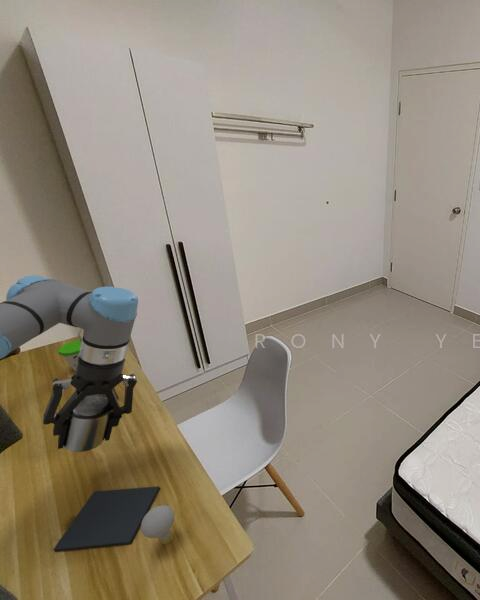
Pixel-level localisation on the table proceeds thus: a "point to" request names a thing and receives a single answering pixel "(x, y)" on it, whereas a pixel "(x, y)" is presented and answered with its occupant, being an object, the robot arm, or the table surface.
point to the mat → (108, 519)
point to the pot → (88, 424)
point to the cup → (71, 351)
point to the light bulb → (158, 523)
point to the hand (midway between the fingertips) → (84, 439)
